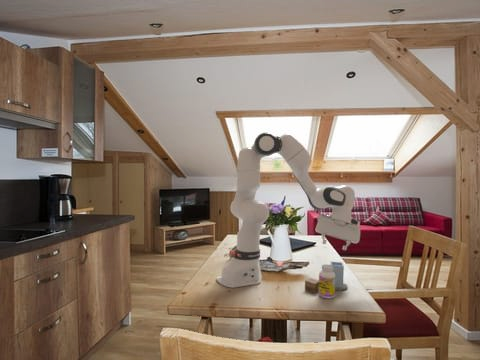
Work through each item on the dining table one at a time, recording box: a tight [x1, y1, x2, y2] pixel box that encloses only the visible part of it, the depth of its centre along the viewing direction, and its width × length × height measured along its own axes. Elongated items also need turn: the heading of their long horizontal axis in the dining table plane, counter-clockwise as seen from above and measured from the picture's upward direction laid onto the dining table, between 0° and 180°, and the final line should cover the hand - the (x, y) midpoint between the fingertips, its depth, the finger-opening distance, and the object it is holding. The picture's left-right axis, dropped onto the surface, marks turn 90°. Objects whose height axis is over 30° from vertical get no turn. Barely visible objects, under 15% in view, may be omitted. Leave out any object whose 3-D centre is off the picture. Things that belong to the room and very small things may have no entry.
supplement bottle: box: [318, 264, 336, 300], centre depth 129 cm, size 7×7×13 cm
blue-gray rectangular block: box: [329, 261, 345, 288], centre depth 140 cm, size 6×6×10 cm
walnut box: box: [304, 277, 319, 293], centre depth 136 cm, size 5×5×4 cm
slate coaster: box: [335, 282, 349, 292], centre depth 140 cm, size 10×10×1 cm
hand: (334, 246), depth 141 cm, fingers open, 8 cm apart
